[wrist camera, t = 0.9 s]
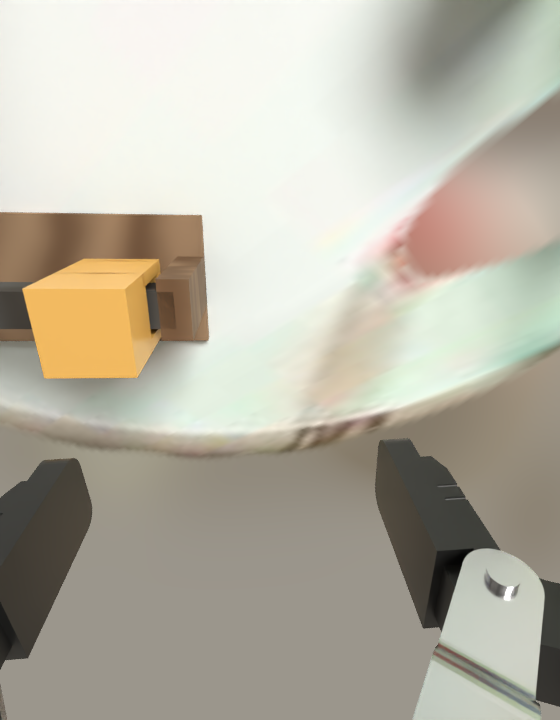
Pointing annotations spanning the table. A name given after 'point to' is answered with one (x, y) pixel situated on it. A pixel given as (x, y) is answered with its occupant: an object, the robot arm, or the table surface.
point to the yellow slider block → (94, 318)
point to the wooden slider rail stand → (106, 241)
